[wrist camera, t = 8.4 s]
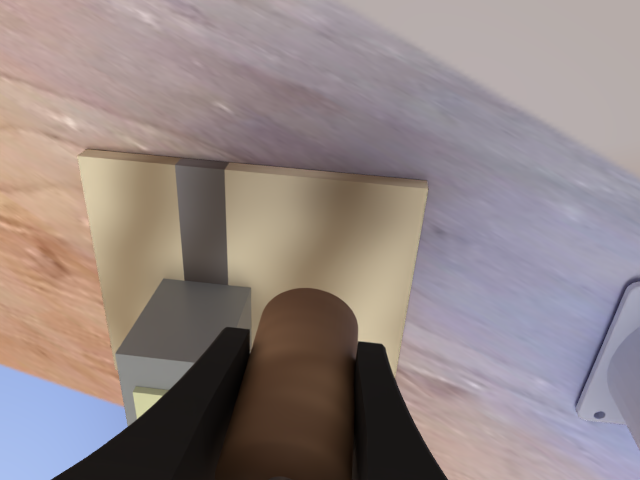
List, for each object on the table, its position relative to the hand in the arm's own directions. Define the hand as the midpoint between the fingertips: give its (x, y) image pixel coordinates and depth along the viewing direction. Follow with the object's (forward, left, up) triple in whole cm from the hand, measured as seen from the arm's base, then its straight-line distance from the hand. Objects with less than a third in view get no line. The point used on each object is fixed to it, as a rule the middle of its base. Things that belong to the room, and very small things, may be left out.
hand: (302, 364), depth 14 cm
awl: (0, 0, -2) cm, 2 cm away
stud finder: (+5, +7, -9) cm, 12 cm away
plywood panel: (+3, +4, -10) cm, 11 cm away
